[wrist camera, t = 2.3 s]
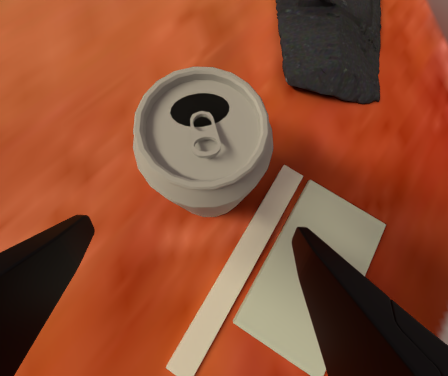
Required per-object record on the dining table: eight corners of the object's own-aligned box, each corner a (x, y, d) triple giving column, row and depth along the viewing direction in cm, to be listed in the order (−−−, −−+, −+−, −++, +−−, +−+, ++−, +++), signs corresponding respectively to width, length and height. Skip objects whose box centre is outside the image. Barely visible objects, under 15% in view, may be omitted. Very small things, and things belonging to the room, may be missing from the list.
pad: (317, 377, 17) (320, 382, 16) (232, 320, 17) (233, 323, 17) (382, 224, 20) (386, 224, 19) (308, 180, 20) (310, 179, 20)
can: (237, 145, 21) (265, 43, 9) (250, 211, 20) (303, 188, 8) (171, 155, 20) (111, 58, 9) (179, 223, 19) (120, 218, 7)
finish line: (189, 381, 16) (188, 384, 16) (166, 364, 16) (165, 368, 16) (301, 177, 21) (303, 175, 20) (282, 165, 21) (284, 164, 20)
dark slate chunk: (260, 95, 23) (272, 62, 18) (274, -33, 28) (285, -86, 23) (380, 113, 23) (422, 85, 19) (374, -17, 28) (406, -66, 23)
